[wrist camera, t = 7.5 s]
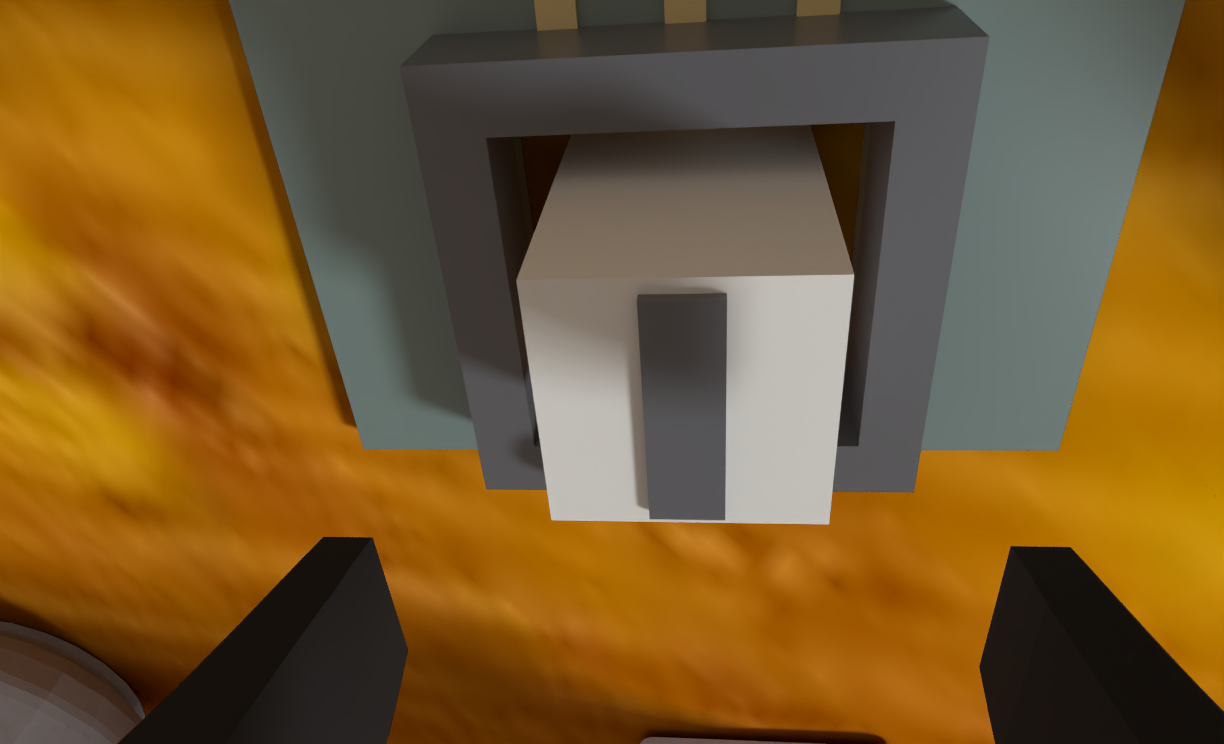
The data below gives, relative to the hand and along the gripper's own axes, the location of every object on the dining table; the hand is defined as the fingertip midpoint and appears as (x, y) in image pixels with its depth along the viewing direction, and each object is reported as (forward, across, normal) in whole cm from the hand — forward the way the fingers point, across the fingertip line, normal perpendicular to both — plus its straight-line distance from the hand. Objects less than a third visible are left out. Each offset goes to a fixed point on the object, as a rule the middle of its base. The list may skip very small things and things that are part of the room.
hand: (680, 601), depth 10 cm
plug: (+9, 0, 0) cm, 9 cm away
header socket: (+9, 0, -2) cm, 10 cm away
